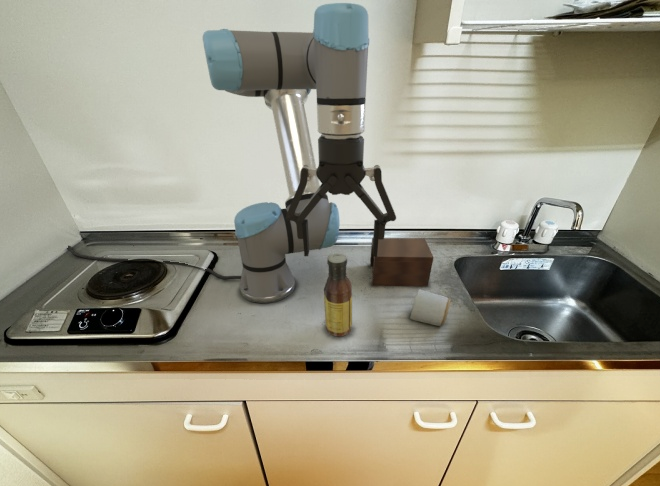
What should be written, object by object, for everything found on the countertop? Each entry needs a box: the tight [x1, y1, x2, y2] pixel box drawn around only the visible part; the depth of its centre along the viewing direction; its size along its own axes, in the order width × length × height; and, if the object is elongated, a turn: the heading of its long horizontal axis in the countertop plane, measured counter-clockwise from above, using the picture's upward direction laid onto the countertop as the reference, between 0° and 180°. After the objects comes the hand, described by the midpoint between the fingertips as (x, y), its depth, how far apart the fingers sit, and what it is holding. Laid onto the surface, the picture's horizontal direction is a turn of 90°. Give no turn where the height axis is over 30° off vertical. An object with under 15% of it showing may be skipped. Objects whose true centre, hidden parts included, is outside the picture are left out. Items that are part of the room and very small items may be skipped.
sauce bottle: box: [323, 252, 353, 338], centre depth 70 cm, size 6×6×20 cm
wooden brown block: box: [369, 237, 435, 287], centre depth 93 cm, size 16×12×10 cm
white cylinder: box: [409, 289, 451, 327], centre depth 78 cm, size 11×8×8 cm
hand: (340, 253), depth 63 cm, fingers open, 13 cm apart
